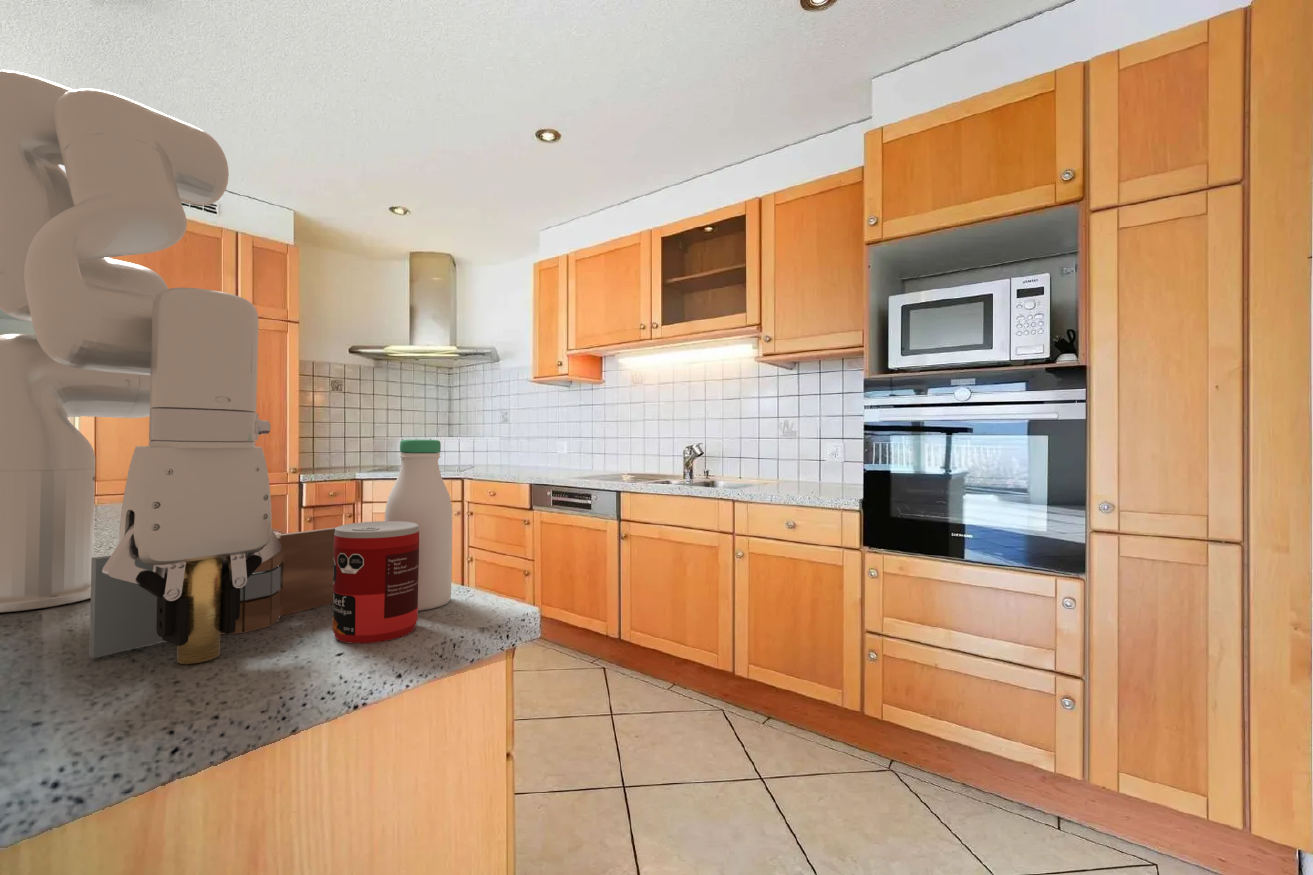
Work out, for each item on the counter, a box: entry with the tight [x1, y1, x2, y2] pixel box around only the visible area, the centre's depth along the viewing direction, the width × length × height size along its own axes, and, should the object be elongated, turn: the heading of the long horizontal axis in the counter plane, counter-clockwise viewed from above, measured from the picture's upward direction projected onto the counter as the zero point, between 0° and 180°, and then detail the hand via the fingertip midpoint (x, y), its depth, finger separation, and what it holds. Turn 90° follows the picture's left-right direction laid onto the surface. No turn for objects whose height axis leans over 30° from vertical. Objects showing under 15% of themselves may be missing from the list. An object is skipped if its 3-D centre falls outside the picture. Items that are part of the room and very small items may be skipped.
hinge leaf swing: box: [88, 555, 281, 659], centre depth 58 cm, size 6×15×9 cm, turn 151°
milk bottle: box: [384, 438, 453, 611], centre depth 70 cm, size 8×8×20 cm
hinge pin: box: [176, 557, 222, 665], centre depth 52 cm, size 3×3×10 cm
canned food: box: [331, 520, 419, 644], centre depth 60 cm, size 8×8×11 cm
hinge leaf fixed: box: [220, 526, 337, 635], centre depth 66 cm, size 6×16×9 cm, turn 151°
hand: (199, 634), depth 52 cm, fingers closed on hinge pin, 3 cm apart
